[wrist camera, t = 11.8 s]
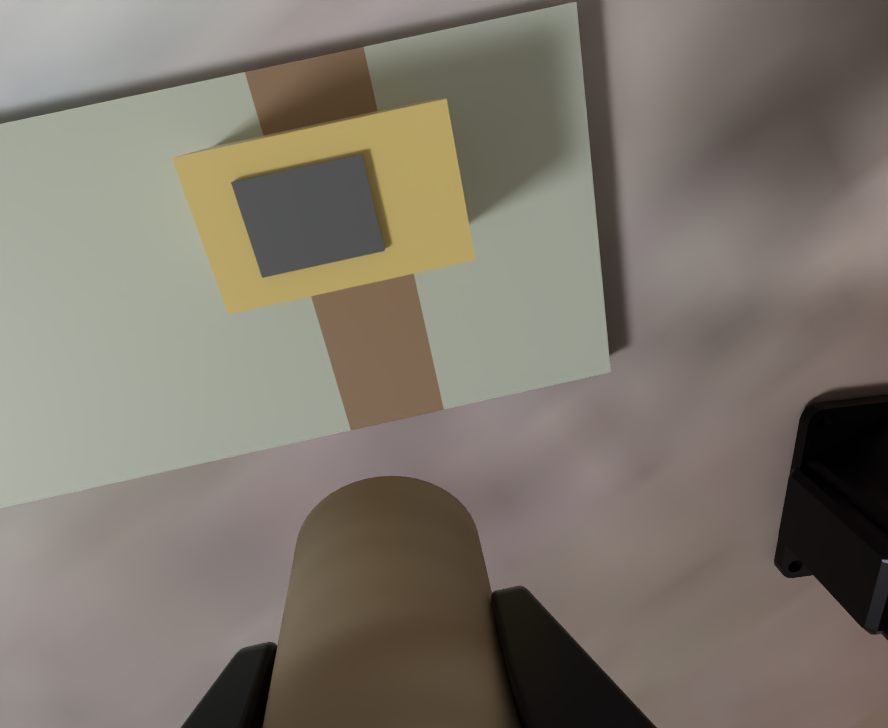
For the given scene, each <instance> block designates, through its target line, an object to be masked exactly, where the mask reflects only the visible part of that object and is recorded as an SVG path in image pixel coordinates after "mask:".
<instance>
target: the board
mask: <svg viewBox="0 0 888 728" xmlns="http://www.w3.org/2000/svg"><path fill="white" fill-rule="evenodd" d="M431 99H447V104H448V109H449V115H450V120H451V126H452V131H453V137H454V143H455V148H456V154H457V159H458V165H459V171H460V176H461V182H462V187H463V193H464V199H465V204H466V210H467V215H468V221H469V227H470V232H471V238H472V243H473V249H474V255H475V260H474V261H469V262H464V263H460V264H455V265H451V266H446V267H442V268H437V269H433V270H428V271H424V272H419V273H414V274H410V275H405V276H401V277H396V278H392V279H387V280H383V281H378V282H374V283H369V284H365V285H360V286H355V287H351V288H346V289H342V290H337V291H333V292H328V293H324V294H319V295H315V296H310V297H306V298H301V299H296V300H292V301H287V302H283V303H278V304H274V305H269V306H265V307H260V308H256V309H251V310H246V311H242V312H237V313H233V314H228V312H227V310H226V307H225V304H224V301H223V298H222V296H221V293H220V290H219V287H218V285H217V282H216V279H215V276H214V273H213V271H212V268H211V265H210V262H209V260H208V257H207V254H206V251H205V248H204V246H203V243H202V240H201V237H200V235H199V232H198V229H197V226H196V223H195V221H194V218H193V215H192V212H191V210H190V207H189V204H188V201H187V198H186V196H185V193H184V190H183V187H182V185H181V182H180V179H179V176H178V174H177V171H176V168H175V165H174V162H173V160H172V158H173V157H177V156H181V155H184V154H188V153H191V152H195V151H198V150H202V149H206V148H209V147H213V146H217V145H222V144H227V143H231V142H236V141H241V140H245V139H250V138H255V137H259V136H264V135H268V134H273V133H278V132H282V131H287V130H292V129H296V128H301V127H306V126H310V125H315V124H319V123H324V122H329V121H333V120H338V119H343V118H347V117H352V116H357V115H361V114H366V113H370V112H375V111H380V110H384V109H389V108H394V107H398V106H403V105H408V104H412V103H417V102H421V101H426V100H431ZM610 372H611V370H610V359H609V348H608V337H607V326H606V315H605V305H604V294H603V283H602V272H601V261H600V251H599V240H598V229H597V218H596V207H595V197H594V186H593V175H592V164H591V153H590V143H589V132H588V121H587V110H586V99H585V88H584V78H583V67H582V56H581V45H580V34H579V24H578V13H577V2H572V3H567V4H563V5H558V6H553V7H548V8H544V9H539V10H534V11H530V12H525V13H520V14H516V15H511V16H506V17H501V18H497V19H492V20H487V21H483V22H478V23H473V24H468V25H464V26H459V27H454V28H450V29H445V30H440V31H435V32H431V33H426V34H421V35H417V36H412V37H407V38H403V39H398V40H393V41H388V42H384V43H379V44H374V45H370V46H365V47H360V48H355V49H351V50H346V51H341V52H337V53H332V54H327V55H322V56H318V57H313V58H308V59H304V60H299V61H294V62H290V63H285V64H280V65H275V66H271V67H266V68H261V69H257V70H252V71H247V72H242V73H238V74H233V75H228V76H224V77H219V78H214V79H210V80H205V81H200V82H195V83H191V84H186V85H181V86H177V87H172V88H167V89H162V90H158V91H153V92H148V93H144V94H139V95H134V96H129V97H125V98H120V99H115V100H111V101H106V102H101V103H97V104H92V105H87V106H82V107H78V108H73V109H68V110H64V111H59V112H54V113H49V114H45V115H40V116H35V117H31V118H26V119H21V120H16V121H12V122H7V123H2V124H0V508H4V507H9V506H13V505H18V504H22V503H27V502H31V501H36V500H40V499H45V498H49V497H54V496H58V495H63V494H67V493H71V492H76V491H80V490H85V489H89V488H94V487H98V486H103V485H107V484H112V483H116V482H121V481H125V480H130V479H134V478H139V477H143V476H148V475H152V474H157V473H161V472H166V471H170V470H175V469H179V468H184V467H188V466H193V465H197V464H202V463H206V462H211V461H215V460H220V459H224V458H229V457H233V456H237V455H242V454H246V453H251V452H255V451H260V450H264V449H269V448H273V447H278V446H282V445H287V444H291V443H296V442H300V441H305V440H309V439H314V438H318V437H323V436H327V435H332V434H336V433H341V432H345V431H350V430H354V429H359V428H363V427H368V426H372V425H377V424H381V423H386V422H390V421H395V420H399V419H403V418H408V417H412V416H417V415H421V414H426V413H430V412H435V411H439V410H444V409H448V408H453V407H457V406H462V405H466V404H471V403H475V402H480V401H484V400H489V399H493V398H498V397H502V396H507V395H511V394H516V393H520V392H525V391H529V390H534V389H538V388H543V387H547V386H552V385H556V384H561V383H565V382H569V381H574V380H578V379H583V378H587V377H592V376H596V375H601V374H605V373H610Z"/></svg>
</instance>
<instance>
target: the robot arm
mask: <svg viewBox="0 0 888 728" xmlns="http://www.w3.org/2000/svg"><path fill="white" fill-rule="evenodd" d="M821 417H823V418H822V420H821V421H820V422H819V423H817V421H818V420H819V419H820V418H821ZM816 423H817V424H816ZM774 564H775V566H776V567H777V568H778V570H779V571H780V572H781V573H782V574H783V575H784V576H785V577H788V578H796V577H803V576H811V575H814V576H815V577H816V578H817V579H818V581H819V582H820V583H821V584H822V585H823V586H824V587H825V588H826V589H827V590H828V591H829V592H830V594H831V595H832V596H833V597H834V598H835V599H836V600H837V601H838V602H839V603H840V604H841V605H842V607H843V608H844V609H845V610H846V611H847V612H848V613H849V614H850V615H851V616H852V617H853V618H854V620H855V621H856V622H857V623H858V624H859V625H860V626H861V627H862V628H863V629H865V630H866V631H867V632H868V633H870V634H874V635H875V634H882V635H883V636H884V637H885V638H886V639H887V640H888V395H881V396H873V397H864V398H855V399H847V400H838V401H829V402H821V403H816V404H812V405H810V406H809V407H807V408H806V409H805V410H804V412H803V413H802V415H801V417H800V420H799V426H798V431H797V437H796V443H795V448H794V454H793V459H792V465H791V470H790V476H789V479H788V485H787V490H786V496H785V501H784V507H783V512H782V518H781V524H780V529H779V537H778V542H777V548H776V553H775V559H774ZM491 601H492V606H493V610H494V615H495V619H496V623H497V628H498V632H499V637H500V641H501V645H502V650H503V654H504V658H505V663H506V667H507V672H508V676H509V680H510V685H511V689H512V694H513V698H514V701H515V705H516V709H517V713H518V716H519V720H520V723H521V726H522V728H657V727H656V726H655V725H654V724H653V723H652V722H651V721H650V720H649V719H648V718H647V717H646V716H645V715H644V714H643V712H642V711H641V710H640V709H639V708H638V707H637V706H636V705H635V704H634V703H633V702H632V701H631V700H630V699H629V697H628V696H627V695H626V694H625V693H624V692H623V691H622V690H621V689H620V688H619V687H618V686H617V685H616V684H615V683H614V681H613V680H612V679H611V678H610V677H609V676H608V675H607V674H606V673H605V672H604V671H603V670H602V669H601V668H600V666H599V665H598V664H597V663H596V662H595V661H594V660H593V659H592V658H591V657H590V656H589V655H588V654H587V653H586V651H585V650H584V649H583V648H582V647H581V646H580V645H579V644H578V643H577V642H576V641H575V640H574V639H573V638H572V636H571V635H570V634H569V633H568V632H567V631H566V630H565V629H564V628H563V627H562V626H561V625H560V624H559V623H558V621H557V620H556V619H555V618H554V617H553V616H552V615H551V614H550V613H549V612H548V611H547V610H546V609H545V608H544V606H543V605H542V604H541V603H540V602H539V601H538V600H537V599H536V598H535V597H534V596H533V595H532V594H531V593H530V591H529V590H528V589H526V588H525V587H523V586H515V587H511V588H506V589H502V590H497V591H494V592H493V593H492V595H491ZM276 651H277V645H276V644H275V643H273V642H266V643H262V644H258V645H253V646H249V647H245V648H242V649H241V650H239V651H238V652H237V653H236V654H235V655H234V657H233V658H232V659H231V661H230V662H229V663H228V665H227V666H226V667H225V669H224V670H223V672H222V673H221V674H220V676H219V677H218V678H217V680H216V681H215V682H214V684H213V685H212V686H211V688H210V689H209V690H208V692H207V693H206V694H205V696H204V697H203V698H202V700H201V701H200V702H199V704H198V705H197V706H196V708H195V709H194V710H193V712H192V713H191V714H190V716H189V717H188V718H187V720H186V721H185V723H184V724H183V725H182V727H181V728H262V727H263V722H264V716H265V711H266V706H267V700H268V695H269V689H270V684H271V678H272V673H273V667H274V662H275V657H276Z"/></svg>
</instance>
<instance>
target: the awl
mask: <svg viewBox="0 0 888 728" xmlns="http://www.w3.org/2000/svg"><path fill="white" fill-rule="evenodd" d="M491 595H492V591H491V587H490V583H489V579H488V574H487V570H486V566H485V561H484V557H483V553H482V548H481V544H480V540H479V535H478V532H477V529H476V525H475V523H474V521H473V519H472V517H471V515H470V513H469V512H468V511H467V509H466V508H465V507H464V506H463V504H462V503H461V502H460V501H459V500H458V499H457V498H455V497H454V496H453V495H451V494H450V493H449V492H447V491H445V490H444V489H442V488H440V487H439V486H436V485H434V484H431V483H429V482H426V481H423V480H419V479H415V478H409V477H402V476H382V477H374V478H368V479H364V480H360V481H357V482H354V483H351V484H349V485H346V486H344V487H342V488H340V489H338V490H336V491H335V492H333V493H331V494H330V495H329V496H327V497H326V498H325V499H323V500H322V501H321V502H320V503H319V504H318V505H317V506H316V507H315V508H314V509H313V510H312V511H311V512H310V514H309V515H308V516H307V518H306V520H305V521H304V523H303V525H302V527H301V529H300V532H299V534H298V538H297V543H296V548H295V553H294V559H293V564H292V570H291V575H290V581H289V586H288V591H287V597H286V602H285V608H284V613H283V619H282V624H281V629H280V635H279V640H278V646H277V651H276V657H275V662H274V667H273V673H272V678H271V684H270V689H269V695H268V700H267V706H266V711H265V716H264V722H263V727H262V728H522V726H521V723H520V720H519V716H518V713H517V709H516V705H515V701H514V698H513V694H512V689H511V685H510V680H509V676H508V672H507V667H506V663H505V658H504V654H503V650H502V645H501V641H500V637H499V632H498V628H497V623H496V619H495V615H494V610H493V606H492V601H491Z"/></svg>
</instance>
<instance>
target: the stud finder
mask: <svg viewBox="0 0 888 728" xmlns="http://www.w3.org/2000/svg"><path fill="white" fill-rule="evenodd" d="M172 160H173V162H174V165H175V168H176V171H177V174H178V176H179V179H180V182H181V185H182V187H183V190H184V193H185V196H186V198H187V201H188V204H189V207H190V210H191V212H192V215H193V218H194V221H195V223H196V226H197V229H198V232H199V235H200V237H201V240H202V243H203V246H204V248H205V251H206V254H207V257H208V260H209V262H210V265H211V268H212V271H213V273H214V276H215V279H216V282H217V285H218V287H219V290H220V293H221V296H222V298H223V301H224V304H225V307H226V310H227V312H228V314H233V313H237V312H242V311H246V310H251V309H256V308H260V307H265V306H269V305H274V304H278V303H283V302H287V301H292V300H296V299H301V298H306V297H310V296H315V295H319V294H324V293H328V292H333V291H337V290H342V289H346V288H351V287H355V286H360V285H365V284H369V283H374V282H378V281H383V280H387V279H392V278H396V277H401V276H405V275H410V274H414V273H419V272H424V271H428V270H433V269H437V268H442V267H446V266H451V265H455V264H460V263H464V262H469V261H474V260H475V255H474V249H473V243H472V238H471V232H470V227H469V221H468V215H467V210H466V204H465V199H464V193H463V187H462V182H461V176H460V171H459V165H458V159H457V154H456V148H455V143H454V137H453V131H452V126H451V120H450V115H449V109H448V104H447V99H431V100H426V101H421V102H417V103H412V104H408V105H403V106H398V107H394V108H389V109H384V110H380V111H375V112H370V113H366V114H361V115H357V116H352V117H347V118H343V119H338V120H333V121H329V122H324V123H319V124H315V125H310V126H306V127H301V128H296V129H292V130H287V131H282V132H278V133H273V134H268V135H264V136H259V137H255V138H250V139H245V140H241V141H236V142H231V143H227V144H222V145H217V146H213V147H209V148H206V149H202V150H198V151H195V152H191V153H188V154H184V155H181V156H177V157H173V158H172Z"/></svg>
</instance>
